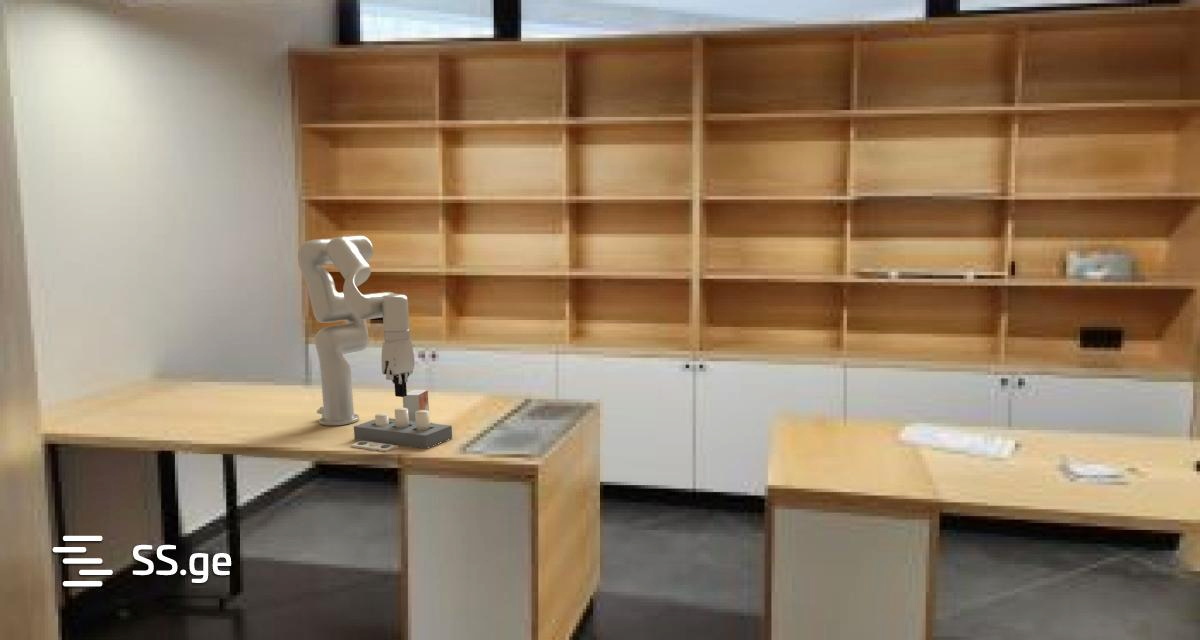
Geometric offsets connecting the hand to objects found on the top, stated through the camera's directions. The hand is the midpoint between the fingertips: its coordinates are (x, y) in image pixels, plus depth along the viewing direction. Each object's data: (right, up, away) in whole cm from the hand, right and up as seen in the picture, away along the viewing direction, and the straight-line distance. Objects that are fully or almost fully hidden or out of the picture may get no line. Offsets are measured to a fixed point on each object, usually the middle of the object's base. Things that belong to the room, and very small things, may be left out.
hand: (401, 396), depth 279 cm
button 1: (-7, -13, +6) cm, 16 cm away
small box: (+1, -11, +20) cm, 23 cm away
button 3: (+7, -11, -2) cm, 13 cm away
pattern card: (-7, -15, -6) cm, 17 cm away
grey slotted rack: (0, -13, +2) cm, 13 cm away
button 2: (0, -11, +2) cm, 11 cm away
